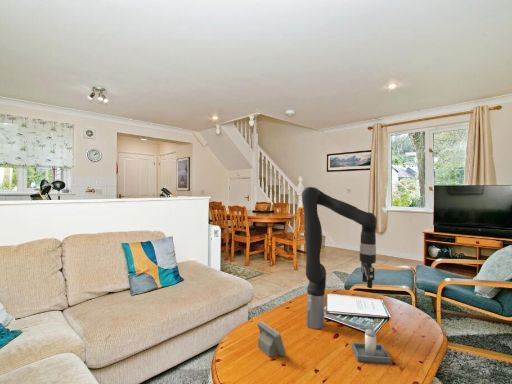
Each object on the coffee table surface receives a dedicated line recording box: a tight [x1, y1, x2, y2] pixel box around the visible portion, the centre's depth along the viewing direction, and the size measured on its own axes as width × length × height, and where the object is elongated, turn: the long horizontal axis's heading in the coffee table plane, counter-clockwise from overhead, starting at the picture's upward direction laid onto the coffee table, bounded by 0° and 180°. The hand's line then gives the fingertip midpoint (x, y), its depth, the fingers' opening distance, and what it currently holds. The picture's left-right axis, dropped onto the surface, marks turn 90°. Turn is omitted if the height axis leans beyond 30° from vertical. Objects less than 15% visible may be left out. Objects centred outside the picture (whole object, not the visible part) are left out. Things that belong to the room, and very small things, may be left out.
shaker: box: [364, 328, 377, 356], centre depth 118 cm, size 5×5×10 cm
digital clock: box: [257, 320, 287, 358], centre depth 121 cm, size 16×9×11 cm, turn 22°
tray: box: [350, 341, 392, 365], centre depth 118 cm, size 14×11×2 cm
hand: (367, 284), depth 133 cm, fingers open, 8 cm apart
